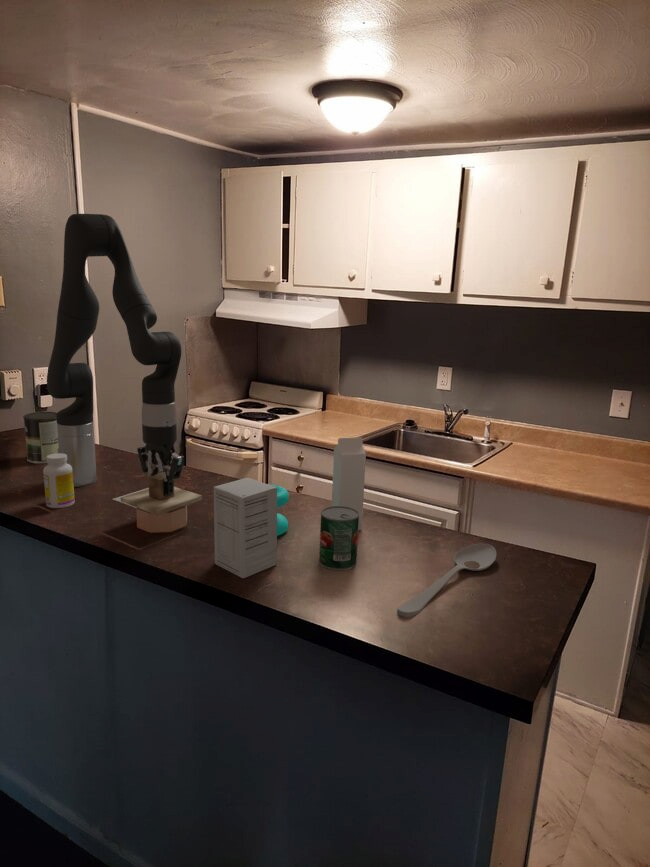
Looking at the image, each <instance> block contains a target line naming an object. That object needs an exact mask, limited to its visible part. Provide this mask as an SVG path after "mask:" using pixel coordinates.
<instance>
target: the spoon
mask: <svg viewBox="0 0 650 867" xmlns="http://www.w3.org/2000/svg"><path fill="white" fill-rule="evenodd" d="M496 559H497V550H496V548H495V547H494V546H493V545H491V544H489V543H481V542H480V543H475V544H474V543H473V544H471V545H467V546H465V547H463V548H461V549H460V550H458V551H457V552H456V553H455V555H454V556H453V561H454V563H455V564H456V565H455V566H454V567H452V568H451V569H450V570H449V571H448V572H446V573H445V574H444V575H443V576H441V577H440V578H439V579H438V580H436V581H435V582H434V583H432V584H431V585H430V586H428V587H427V588H425V589H424V590H423V591H422V592H420V593H418V595H416V596H414V597H413V598H412V599H410V600H408V601H406V602H404V603H403V604H402V605H400V606H398V608H397V610H396V613H397V615H398V616H400V617H403V618H411V617H414V616H416V615H418V614H420V613H421V612H422V611H423V610H424V608H425V607H426V606H427V604H429V602H431V600H433V598H434V597H435V596H436V595H437V594H438V593H439V592H440V591H441V590H442V589H444V587H445V586H446V585H447V584H448V582H450V580H451V579H452V578H453V577H454V576H455V575H457V573H458V572H460V571H461V570H468V571H473V572H474V571H475V572H481V571H483V570H486V569H488V568H489V567H491V566H492V564H494V562H495V561H496ZM467 562H475V563H477V564H478V565H479V567H477V568H473V567H472V568H471V567H468V566H466V565H465V563H467Z"/></svg>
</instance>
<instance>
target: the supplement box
mask: <svg viewBox="0 0 650 867" xmlns="http://www.w3.org/2000/svg"><path fill="white" fill-rule="evenodd" d="M271 485H272V484H268V483H264V482H261V481H259V480H256V479H254V478H251V477H244V478H241V479H237V480H234V481H231V482H226V483H222V484H219V485H215V486H213V518H214V519H213V520H214V523H213V524H214V525H213V528H214V533H213V536H214V564H215V565H216V566H218V567H221V569H224V570H226V571H228V572H230V573H232V574H233V575H235V576H237V577H239V578H241V579H245V578H249V577H250V576H253V575H256V574H257V573H259V572H260V573H261V572H262V571H265V570H267V569H269V568H272V567H274V566H277V564H278V563H277V562H278V556H277V555H278V536H277V513H278V508H277V488H276V487H273V486H271Z"/></svg>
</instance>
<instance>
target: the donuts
mask: <svg viewBox="0 0 650 867" xmlns="http://www.w3.org/2000/svg"><path fill="white" fill-rule="evenodd" d="M270 485H271V486H273V487H276V488H277V509H278V508H281V507H283V506H285V505H286V504H287V503H288V501H289V500H290V499H289V498H290V494H289V492H288V490H287V489H286V488H284V487H282V486H279V485H274V484H270ZM288 528H289V521H288V519H287V517H285V515H283V514H281V513H278V512H277V537H278V536H281V535H283V534H284V533H286V532H287V530H288Z"/></svg>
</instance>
